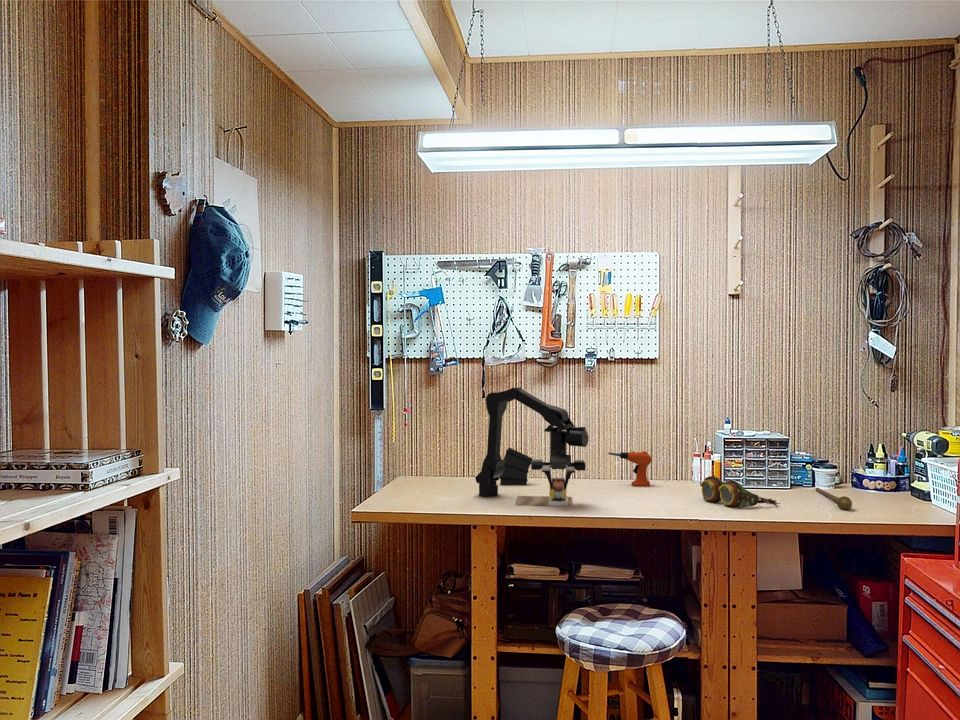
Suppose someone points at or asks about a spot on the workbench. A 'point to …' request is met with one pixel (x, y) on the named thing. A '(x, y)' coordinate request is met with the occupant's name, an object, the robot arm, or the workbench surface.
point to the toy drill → (638, 466)
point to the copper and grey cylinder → (558, 488)
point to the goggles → (730, 493)
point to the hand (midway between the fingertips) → (558, 489)
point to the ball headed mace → (837, 499)
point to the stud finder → (553, 493)
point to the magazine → (515, 468)
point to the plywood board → (537, 501)
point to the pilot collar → (558, 502)
